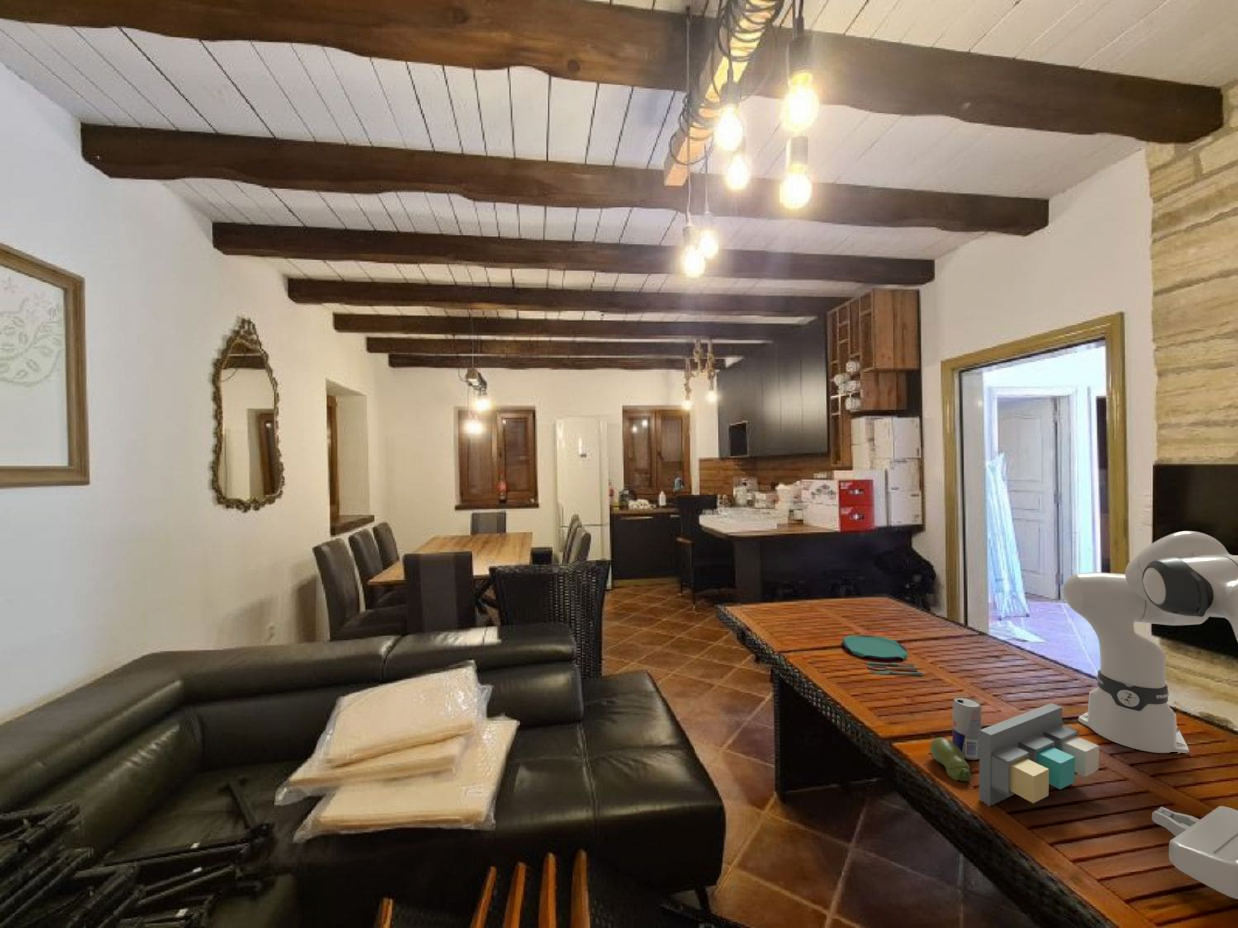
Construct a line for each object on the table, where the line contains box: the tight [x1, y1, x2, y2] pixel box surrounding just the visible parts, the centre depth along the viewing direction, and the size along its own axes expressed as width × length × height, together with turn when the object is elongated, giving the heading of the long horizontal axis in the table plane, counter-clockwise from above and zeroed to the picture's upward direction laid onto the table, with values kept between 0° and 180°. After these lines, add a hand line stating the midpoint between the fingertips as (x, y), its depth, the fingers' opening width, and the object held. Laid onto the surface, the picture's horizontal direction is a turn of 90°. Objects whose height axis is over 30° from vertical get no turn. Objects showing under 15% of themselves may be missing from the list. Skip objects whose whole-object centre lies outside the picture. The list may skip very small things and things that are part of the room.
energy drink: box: [951, 696, 982, 761], centre depth 117 cm, size 5×5×12 cm
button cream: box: [1062, 736, 1100, 777], centre depth 104 cm, size 5×4×5 cm
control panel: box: [978, 702, 1080, 807], centre depth 104 cm, size 25×5×14 cm, turn 115°
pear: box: [929, 736, 972, 782], centre depth 111 cm, size 6×5×10 cm
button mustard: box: [1010, 758, 1050, 804], centre depth 97 cm, size 5×4×5 cm
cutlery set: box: [842, 634, 923, 677], centre depth 172 cm, size 20×30×2 cm, turn 170°
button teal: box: [1037, 746, 1076, 790], centre depth 101 cm, size 5×4×5 cm
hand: (1155, 813), depth 87 cm, fingers closed
